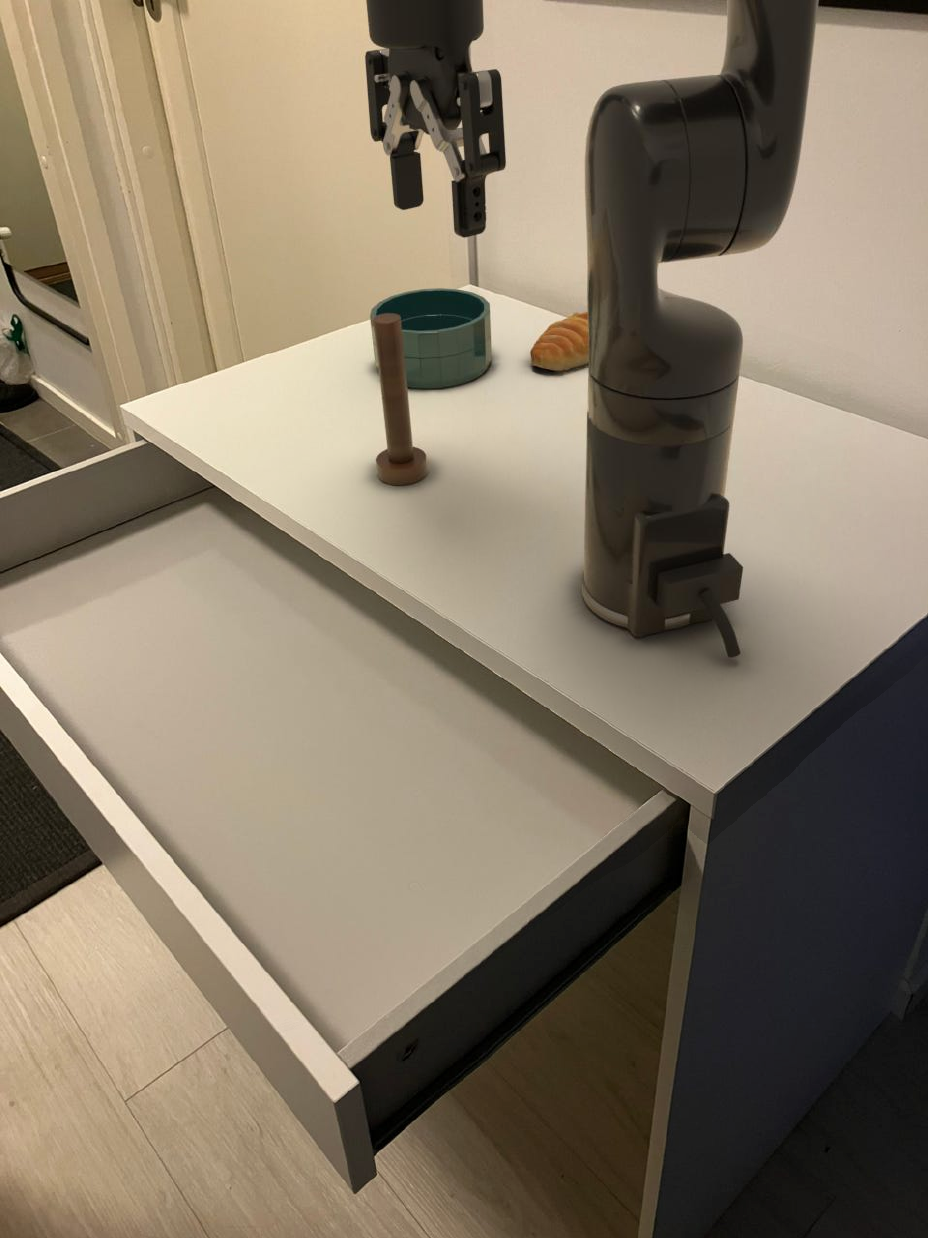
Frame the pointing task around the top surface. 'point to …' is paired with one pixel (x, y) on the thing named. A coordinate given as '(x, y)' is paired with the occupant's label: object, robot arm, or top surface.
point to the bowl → (440, 335)
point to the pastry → (563, 344)
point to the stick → (395, 407)
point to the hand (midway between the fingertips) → (438, 220)
